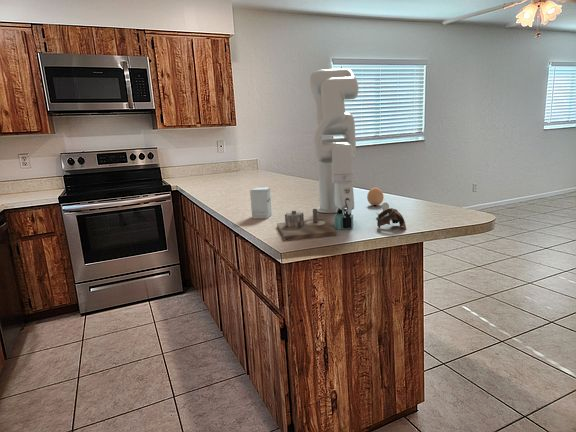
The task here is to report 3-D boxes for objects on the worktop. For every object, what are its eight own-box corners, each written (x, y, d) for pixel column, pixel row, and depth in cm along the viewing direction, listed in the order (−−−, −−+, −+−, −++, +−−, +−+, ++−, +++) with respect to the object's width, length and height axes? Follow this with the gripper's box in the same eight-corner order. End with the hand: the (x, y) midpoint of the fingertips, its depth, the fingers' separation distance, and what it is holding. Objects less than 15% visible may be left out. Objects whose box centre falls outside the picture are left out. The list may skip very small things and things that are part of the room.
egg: (386, 204, 183) (386, 186, 181) (378, 207, 178) (378, 189, 176) (372, 203, 188) (372, 185, 186) (364, 206, 182) (364, 188, 181)
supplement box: (268, 218, 169) (266, 189, 167) (251, 218, 171) (249, 189, 168) (272, 214, 176) (270, 186, 174) (256, 214, 178) (254, 187, 175)
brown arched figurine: (406, 233, 137) (394, 214, 135) (382, 242, 142) (371, 224, 140) (410, 217, 146) (399, 199, 145) (387, 226, 151) (376, 209, 150)
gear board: (322, 222, 156) (321, 205, 155) (335, 235, 137) (335, 215, 135) (277, 226, 154) (276, 209, 152) (284, 240, 135) (283, 220, 133)
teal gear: (350, 224, 151) (349, 212, 150) (355, 228, 145) (355, 216, 144) (332, 225, 150) (332, 214, 149) (337, 230, 144) (337, 218, 143)
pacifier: (396, 220, 155) (393, 216, 161) (396, 204, 153) (393, 201, 159) (377, 220, 155) (375, 217, 161) (377, 205, 154) (375, 202, 160)
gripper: (360, 180, 136) (361, 230, 139) (345, 174, 152) (346, 219, 156) (339, 181, 135) (340, 232, 138) (326, 176, 151) (328, 221, 155)
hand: (344, 225), depth 147 cm, fingers closed on teal gear, 6 cm apart
